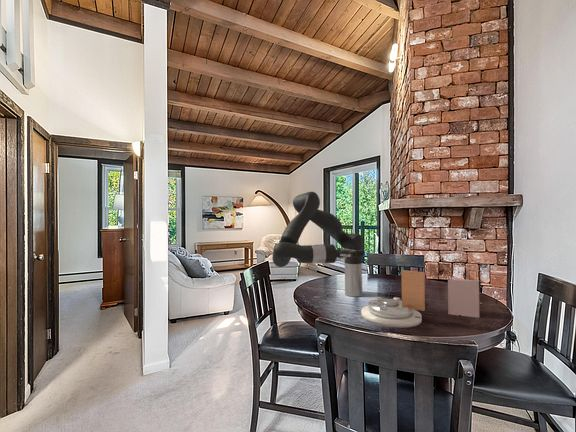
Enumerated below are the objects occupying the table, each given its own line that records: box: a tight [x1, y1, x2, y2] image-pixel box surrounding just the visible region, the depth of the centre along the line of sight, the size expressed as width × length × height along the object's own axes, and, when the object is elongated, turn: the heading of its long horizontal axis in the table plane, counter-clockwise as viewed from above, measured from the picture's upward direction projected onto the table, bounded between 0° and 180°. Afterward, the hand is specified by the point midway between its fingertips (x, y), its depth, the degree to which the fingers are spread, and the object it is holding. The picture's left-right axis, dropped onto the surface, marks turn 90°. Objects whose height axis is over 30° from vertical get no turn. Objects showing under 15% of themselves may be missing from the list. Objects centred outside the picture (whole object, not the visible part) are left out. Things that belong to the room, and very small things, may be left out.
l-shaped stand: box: [367, 269, 426, 319], centre depth 124 cm, size 22×18×18 cm
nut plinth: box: [360, 305, 423, 329], centre depth 125 cm, size 24×24×2 cm
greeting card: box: [447, 276, 480, 319], centre depth 127 cm, size 11×7×15 cm, turn 32°
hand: (363, 253), depth 121 cm, fingers closed
